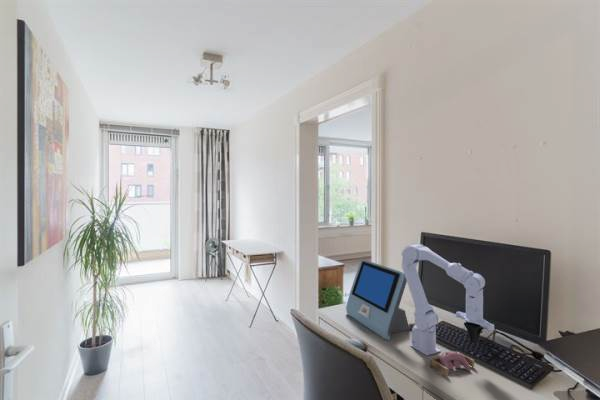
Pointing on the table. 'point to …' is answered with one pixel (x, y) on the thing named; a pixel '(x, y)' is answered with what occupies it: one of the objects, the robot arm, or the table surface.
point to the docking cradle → (438, 366)
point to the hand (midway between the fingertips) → (473, 342)
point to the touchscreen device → (378, 299)
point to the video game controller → (457, 358)
